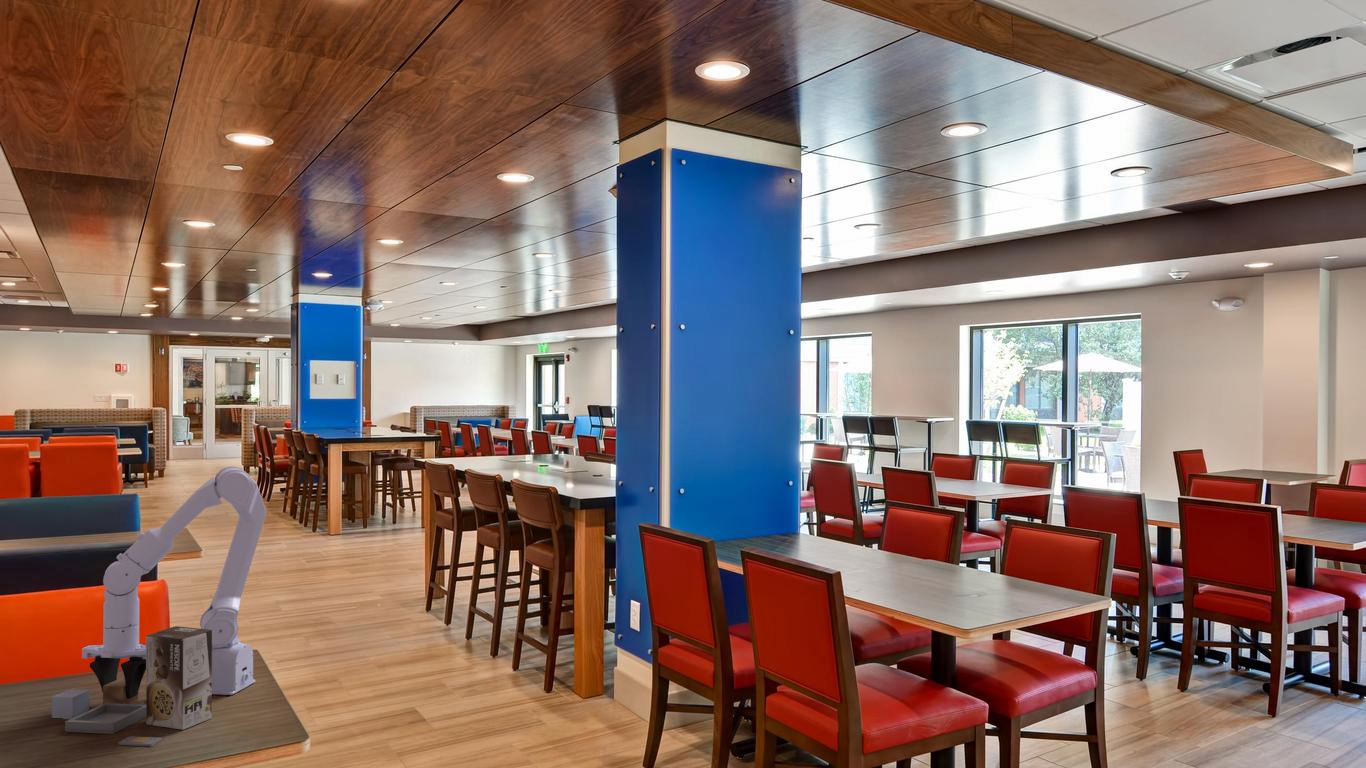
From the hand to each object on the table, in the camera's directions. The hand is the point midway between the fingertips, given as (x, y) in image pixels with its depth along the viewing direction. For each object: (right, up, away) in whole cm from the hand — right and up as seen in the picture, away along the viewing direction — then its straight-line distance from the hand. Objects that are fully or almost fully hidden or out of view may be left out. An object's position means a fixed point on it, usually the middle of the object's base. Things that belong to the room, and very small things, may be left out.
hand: (120, 696), depth 162 cm
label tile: (+15, -1, -18) cm, 24 cm away
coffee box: (+16, -2, -9) cm, 18 cm away
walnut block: (0, -1, 0) cm, 1 cm away
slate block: (-6, -2, -5) cm, 8 cm away
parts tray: (+4, -1, -9) cm, 10 cm away
